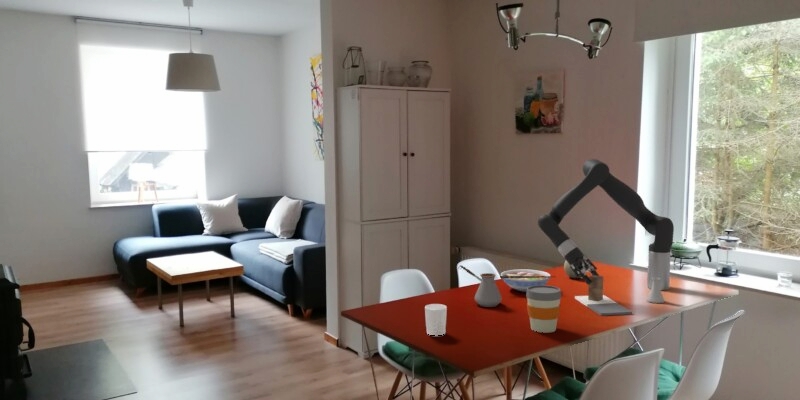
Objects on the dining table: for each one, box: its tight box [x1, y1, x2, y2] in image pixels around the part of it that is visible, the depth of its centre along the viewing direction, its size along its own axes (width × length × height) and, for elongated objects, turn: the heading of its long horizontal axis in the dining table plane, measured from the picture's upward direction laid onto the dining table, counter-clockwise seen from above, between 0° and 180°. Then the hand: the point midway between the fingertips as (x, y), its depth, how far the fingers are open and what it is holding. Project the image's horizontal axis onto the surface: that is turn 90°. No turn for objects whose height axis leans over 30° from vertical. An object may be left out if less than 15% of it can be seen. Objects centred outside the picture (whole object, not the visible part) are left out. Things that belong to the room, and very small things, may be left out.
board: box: [574, 294, 633, 317], centre depth 251 cm, size 26×13×1 cm, turn 6°
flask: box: [646, 278, 665, 304], centre depth 256 cm, size 7×7×10 cm
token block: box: [587, 274, 604, 301], centre depth 257 cm, size 4×4×10 cm
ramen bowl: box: [499, 268, 556, 293], centre depth 279 cm, size 25×23×8 cm
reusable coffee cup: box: [525, 284, 562, 334], centre depth 222 cm, size 13×13×15 cm
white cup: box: [424, 303, 448, 337], centre depth 219 cm, size 8×8×10 cm
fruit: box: [563, 253, 589, 279], centre depth 301 cm, size 10×12×15 cm
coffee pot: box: [459, 265, 503, 308], centre depth 259 cm, size 21×12×15 cm, turn 44°
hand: (594, 281), depth 257 cm, fingers open, 8 cm apart
